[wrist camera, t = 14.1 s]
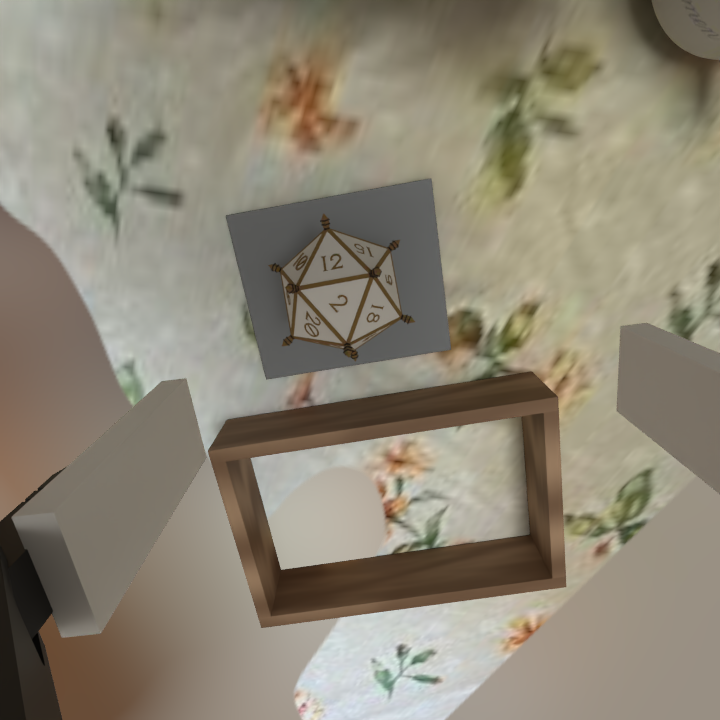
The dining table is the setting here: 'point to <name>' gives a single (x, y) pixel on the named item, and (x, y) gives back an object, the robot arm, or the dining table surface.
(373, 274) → the game die
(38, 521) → the robot arm
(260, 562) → the rectangular frame
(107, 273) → the dining table surface
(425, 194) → the pad
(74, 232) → the dining table surface
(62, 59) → the dining table surface
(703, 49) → the teacup
